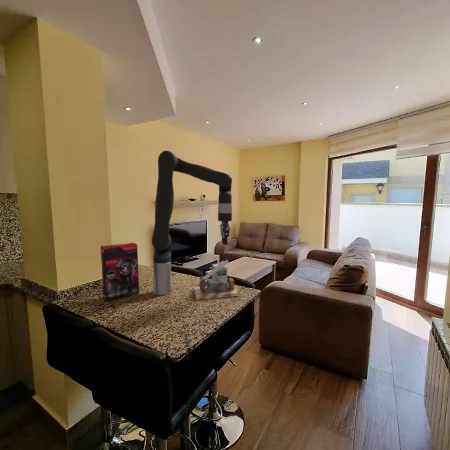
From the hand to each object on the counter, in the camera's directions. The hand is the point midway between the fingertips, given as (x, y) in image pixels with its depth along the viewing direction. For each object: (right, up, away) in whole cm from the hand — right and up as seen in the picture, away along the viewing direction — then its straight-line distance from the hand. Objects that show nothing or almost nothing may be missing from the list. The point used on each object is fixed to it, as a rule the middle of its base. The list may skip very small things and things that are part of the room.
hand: (224, 243), depth 135 cm
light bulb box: (-3, -26, +20) cm, 33 cm away
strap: (-5, -15, 0) cm, 16 cm away
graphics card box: (-54, -27, -4) cm, 61 cm away
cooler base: (-5, -27, +1) cm, 28 cm away
